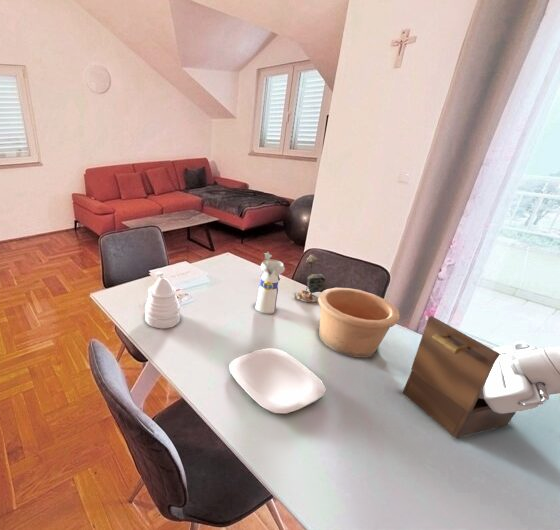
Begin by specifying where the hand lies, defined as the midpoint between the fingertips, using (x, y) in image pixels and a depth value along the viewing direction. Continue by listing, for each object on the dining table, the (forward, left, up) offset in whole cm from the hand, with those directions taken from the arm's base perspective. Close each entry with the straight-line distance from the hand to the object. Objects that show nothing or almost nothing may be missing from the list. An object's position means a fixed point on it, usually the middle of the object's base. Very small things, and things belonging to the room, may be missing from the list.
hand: (460, 384), depth 76 cm
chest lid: (+8, 0, +9) cm, 12 cm away
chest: (0, 0, -8) cm, 8 cm away
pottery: (+6, -29, -8) cm, 30 cm away
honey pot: (+63, -55, -8) cm, 83 cm away
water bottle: (+22, -53, -8) cm, 57 cm away
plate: (+39, -18, -8) cm, 43 cm away
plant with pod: (+1, -56, -8) cm, 56 cm away
